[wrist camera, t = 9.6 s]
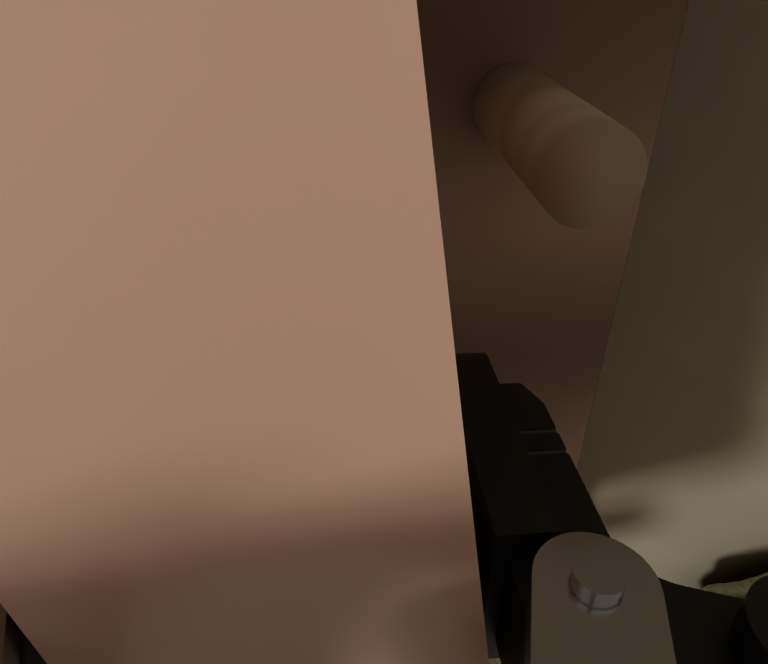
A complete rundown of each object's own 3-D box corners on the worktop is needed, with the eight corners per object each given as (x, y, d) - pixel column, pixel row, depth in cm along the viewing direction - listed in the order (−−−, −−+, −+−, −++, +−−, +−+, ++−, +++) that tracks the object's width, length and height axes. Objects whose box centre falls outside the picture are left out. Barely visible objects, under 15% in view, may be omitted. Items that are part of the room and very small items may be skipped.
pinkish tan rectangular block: (-30, -93, 7) (-557, -116, 3) (339, -157, 7) (386, -282, 3) (279, 649, 14) (266, 947, 10) (455, 617, 14) (515, 902, 10)
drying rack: (-312, -491, 7) (-1118, -1026, 3) (738, -418, 8) (1146, -741, 4) (96, 626, 18) (35, 829, 14) (526, 592, 19) (584, 771, 15)
